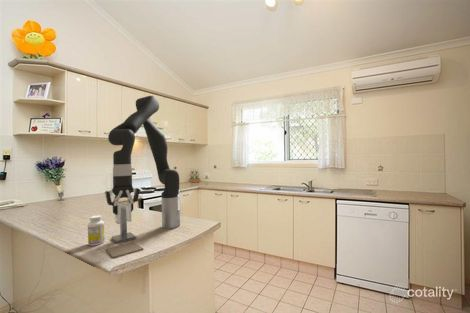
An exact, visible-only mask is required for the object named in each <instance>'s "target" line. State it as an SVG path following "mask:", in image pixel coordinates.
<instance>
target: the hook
mask: <svg viewBox="0 0 470 313" xmlns="http://www.w3.org/2000/svg"><path fill="white" fill-rule="evenodd" d="M120 207H126V220H127V222H129V223H131V222H132V212H131V203H130V202H128V201H125V202H124V201H123V202H118V203H117V215H115V214H114V215H115V217H114V218H115V223H116V224H117V225H120Z"/></svg>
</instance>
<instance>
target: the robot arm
mask: <svg viewBox="0 0 470 313" xmlns="http://www.w3.org/2000/svg"><path fill="white" fill-rule="evenodd" d="M135 108H136V111H135V112H133V113H132V114H130V115H129V116H128V117H127V118H126V119H125V120H124V121H123V122H122V123H120V124H118V125H117V126H115V127H114V128H112V129H111V130H110V131H109V133H108V137H107V138H108V141H109V143H110V144H111V145H112V146H122V147H121V149H120V150H116V151H114V152H113V154H112V155H113V156H112V159H113V162H112V164H113V165H112V166H113V168H112V189H111V190H106V191H104V195H105V198H106V203H107V205H109V206H112V213H113V215H117V203H119V201H120V199H123V198H126V199H127V202H128V201H129V202H130V203H131V213H132V212H133V211H134V203H136V202H138V201H139V194H140V191H141V190H140V188H138V187H135V188H134V187H133V168H132V152H133V148H134V145H135V140H136V136H135V134H137V133H138V131H139V130H140V129H141V127H142V126H143V128H144V131H145V135H146V138H147V142H148V144H149V147H150V151H151V153H152V157H153V160H154V163H155V167H156V172H157V178H158V180H159V183H161V184H162V185H164V190H163V191H162V192H161V194H160V195H161V225H162V226H161V228H162V229H166V230H167V229H174V228H178V227H180V226H181V212H180V210H181V209H180V208H179V192H180V174H179V173H178V171H177V170H175V169H170V166H169V163H168V144H167V140H166V137H165V134H164V133H163V132H162V131H161V130H160V129H159V128H158V127H157V126H156V125H155V124H154V122H153V121H152V119H151V117H152V116H153V115H154V114H155V113H157V112H158V111H159V110H160V103H159V100H158V98H157V97H155V96H154V95H146V96H144V97H139V98H137V99H136V100H135ZM132 192H133V196H132V195H131V194H132ZM112 195H114V197H113V201H112V199H111V198H112V197H111V196H112Z"/></svg>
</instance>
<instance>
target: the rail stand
mask: <svg viewBox="0 0 470 313" xmlns="http://www.w3.org/2000/svg"><path fill="white" fill-rule="evenodd" d="M127 202H129V201H128V200H127ZM127 222H128V221H127V220H126V207H120V224H119V229H120V233H119V234H116V235H112V236H111V237H110V239H111V240H112V241H113V242H114V243H115V244H121V243H126V242H130V241H134V240H136V239H137V236H136V235H135V234H134V233H133V232H132V231H131V232H130V231H129V232H128V225H127V224H128V223H127Z"/></svg>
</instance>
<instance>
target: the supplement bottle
mask: <svg viewBox="0 0 470 313" xmlns="http://www.w3.org/2000/svg"><path fill="white" fill-rule="evenodd" d="M87 241H88V242H87V243H88V246H93V247H94V246H99V245H102V244H104V243H105V221H104V220H102V215H100V214H99V215H97V214H96V215H92V216H90V217H89V222H88V223H87Z"/></svg>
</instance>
